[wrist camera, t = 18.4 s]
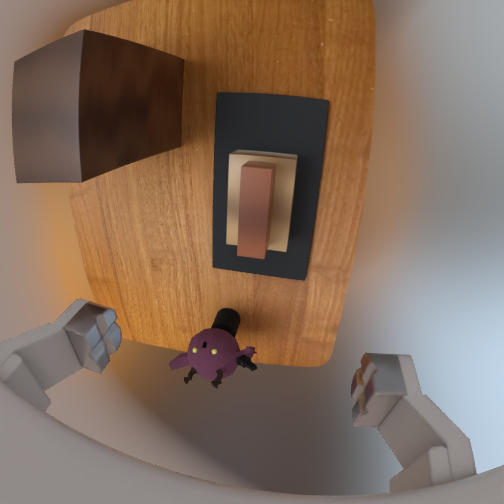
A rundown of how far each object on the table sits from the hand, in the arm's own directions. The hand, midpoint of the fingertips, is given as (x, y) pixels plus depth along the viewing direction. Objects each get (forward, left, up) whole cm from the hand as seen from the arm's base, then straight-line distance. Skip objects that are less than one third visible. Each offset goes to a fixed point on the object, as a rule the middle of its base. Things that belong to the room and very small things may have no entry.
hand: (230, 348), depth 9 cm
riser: (-8, -15, -23) cm, 29 cm away
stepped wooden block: (+2, -2, -23) cm, 23 cm away
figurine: (+19, -5, -24) cm, 31 cm away
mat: (+1, -2, -23) cm, 24 cm away
